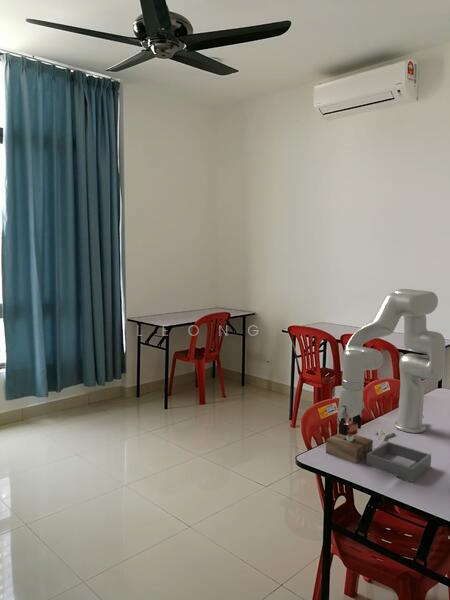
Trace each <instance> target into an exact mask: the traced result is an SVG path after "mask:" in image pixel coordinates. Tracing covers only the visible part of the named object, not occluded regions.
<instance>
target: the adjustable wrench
mask: <svg viewBox="0 0 450 600" xmlns="http://www.w3.org/2000/svg"><path fill="white" fill-rule="evenodd" d="M374 433H375V435H377V436H378V438H377V440H376V441H375V442H374V445H373V447H372V450H374V449H375V446H376V444H377V443H378V441H379V440H380V441H381V442H380V445H382V444H383V443H384V442H386V439H388V438H391V437H393V436H394V431H393V430H392V429H390V428H388V429H387V431H385V430H384V431H383V429H382V428H377V429H376V430H375V431H374ZM380 445H379V446H380Z"/></svg>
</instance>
